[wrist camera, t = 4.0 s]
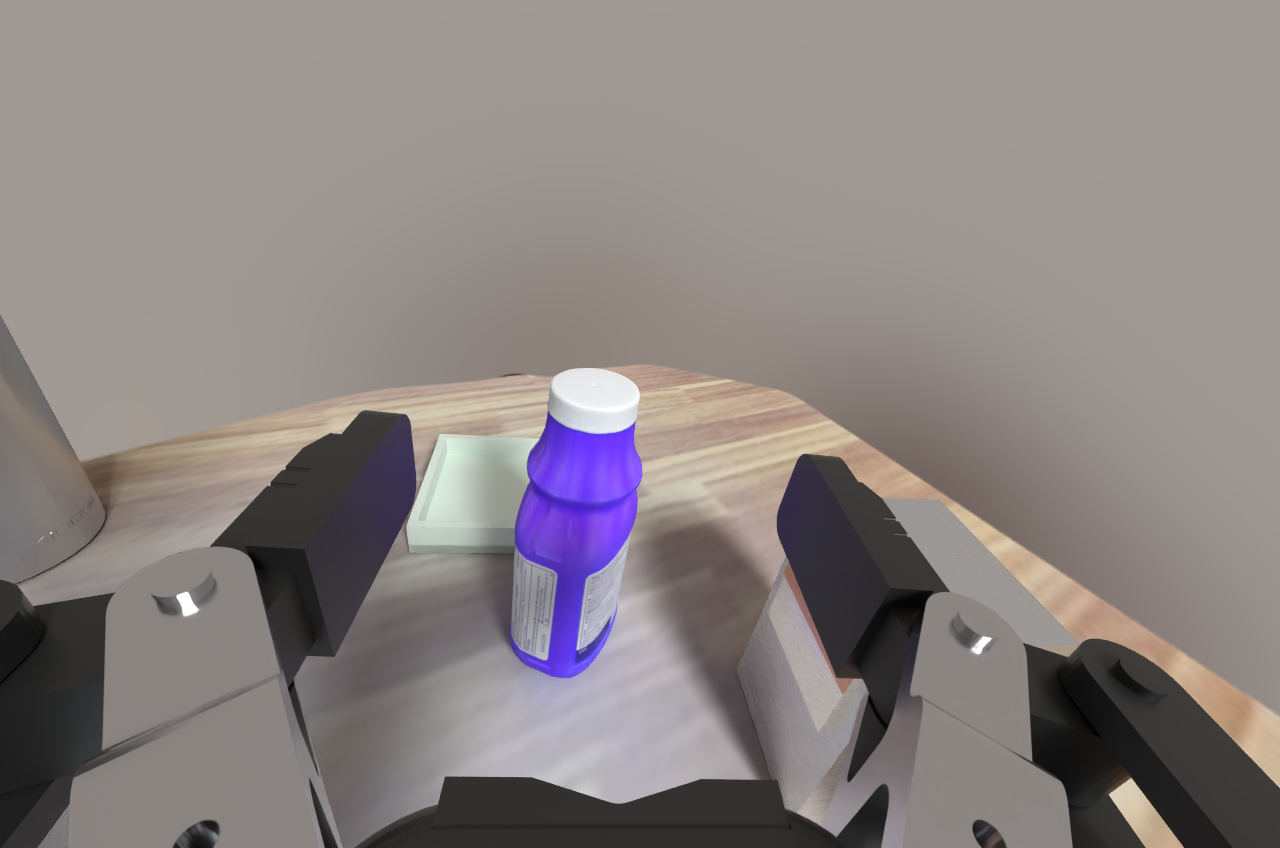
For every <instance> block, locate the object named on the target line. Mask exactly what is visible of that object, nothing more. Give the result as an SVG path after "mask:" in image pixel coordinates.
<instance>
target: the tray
mask: <svg viewBox="0 0 1280 848" xmlns="http://www.w3.org/2000/svg"><path fill="white" fill-rule="evenodd" d="M538 441H539V439H531V438H511V437H491V436H471V435H452V434H440V436H439V438H438V441H437V444H436V447H435V449H434V452H433V455H432V457H431V460H430V463H429V466H428V468H427V471H426V474H425V477H424V479H423V482H422V485H421V488H420V490H419V493H418V496H417V498H416V501H415V504H414V507H413V509H412V512H411V515H410V518H409V520H408V523H407V526H406V529H407V537H408V545H409V553H484V554H514V550H515V522H516V518H517V514H518V510H519V507H520V504H521V501H522V498H523V496H524V493H525V491H526V489H527V486H528V484H529V482H530V479H529V477H528V473H527V460H528V456H529V453H530V451H531V449H532V448H533V447H534V446H535V445H536V443H537V442H538Z"/></svg>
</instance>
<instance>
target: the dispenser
mask: <svg viewBox="0 0 1280 848" xmlns="http://www.w3.org/2000/svg"><path fill="white" fill-rule="evenodd" d="M882 499H883V500H884V502H885V503H886V504H887V506H888V507H889V509H890V510H891V511H892V513H893V514H894V515H895V517H896V521H899V522H900V524H901V525H902V526H903V528H904V529H905V531H906V532H907V537H911V539H912V540H913V541H914V543H915V544H916V546H917V547H918V548H919V550H920V551H921V552H922V554H923V555H924V557H925V558H926V559H927V561H928V562H929V563H930V565H931V566H932V567H933V569H934V570H935V572H936V573H937V574H938V576H939V577H940V578H941V580H942V581H943V583H944V584H945V585H946V587H947V588H948V589H949V591H950V592H951V593H956V594H961V595H964V596H967V597H969V598H971V599H974V600H976V601H978V602H980V603H982V604H983V605H985V606H987V607H988V608H990V609H991V610H993V611H994V612H995V613H997V614H998V615H999V616H1000V617H1002V618H1003V619H1004V620H1005V621H1006V622H1007V623H1008V624H1009V625H1010V626H1011V627H1012V628H1013V629H1014V631H1015V632H1016V633H1017V635H1018V636H1019V637H1020V639H1021V641H1022V642H1023V643H1026V644H1029V645H1032V646H1035V647H1038V648H1041V649H1044V650H1048V651H1051V652H1054V653H1057V654H1060V655H1063V656H1066V657H1069V656H1070V655H1071V654H1072V653H1073V652H1074V651H1075V650H1076V649H1077V648H1078V646H1079V645H1080V643H1079V642H1078V641H1077V640H1076V639H1075V638H1074V637H1073V636H1072V635H1071V634H1070V633H1069V632H1068V631H1067V630H1066V629H1065V628H1064V627H1063V626H1062V625H1061V624H1060V623H1059V622H1058V621H1057V620H1056V619H1055V618H1054V617H1053V616H1052V615H1051V614H1050V613H1049V612H1048V611H1047V609H1046V608H1045V607H1044V606H1043V605H1042V604H1041V603H1040V602H1039V601H1038V600H1037V599H1036V598H1035V597H1034V596H1033V595H1032V594H1031V593H1030V592H1029V591H1028V590H1027V589H1026V588H1025V587H1024V586H1023V585H1022V584H1021V583H1020V582H1019V581H1018V580H1017V579H1016V578H1015V577H1014V576H1013V575H1012V574H1011V573H1010V572H1009V571H1008V569H1007V568H1006V567H1005V566H1004V565H1003V564H1002V563H1001V562H1000V561H999V560H998V559H997V558H996V557H995V556H994V555H993V554H992V553H991V552H990V551H989V550H988V549H987V548H986V547H985V546H984V545H983V544H982V543H981V542H980V541H979V540H978V539H977V538H976V537H975V536H974V535H973V534H972V533H971V532H970V531H969V530H968V528H967V527H966V526H965V525H964V524H963V523H962V522H961V521H960V520H959V519H958V518H957V517H956V516H955V515H954V514H953V513H952V512H951V511H950V510H949V509H948V508H947V507H946V506H945V505H944V504H943V503H942V502H941V501H940V500H928V499H896V498H882ZM736 670H737V673H738V676H739V679H740V682H741V685H742V689H743V692H744V695H745V698H746V701H747V704H748V707H749V711H750V714H751V717H752V720H753V723H754V726H755V729H756V733H757V736H758V739H759V742H760V745H761V748H762V752H763V755H764V758H765V761H766V764H767V767H768V770H769V774H770V777H771V780H778V783H779V787H780V791H781V795H782V799H783V803H784V807H785V808H786V809H789V810H791V811H793V812H796V813H798V814H800V815H802V816H804V817H806V818H808V819H810V820H812V821H813V822H815V823H817V824H820V823H821V822H822V820H823V818H824V816H825V814H826V812H827V810H828V808H829V806H830V804H831V801H832V799H833V796H834V793H835V790H836V787H837V784H838V780H839V777H840V773H841V769H842V766H843V762H844V759H845V755H846V751H847V748H848V744H849V741H850V737H851V733H852V730H853V726H854V723H855V719H856V716H857V712H858V708H859V705H860V702H861V699H862V697H863V696H864V694H865V693H866V691H867V688H866V685H865V683H864V681H863V679H850V678H836V675H835V673H834V670H833V668H832V666H831V663H830V661H829V658H828V656H827V653H826V651H825V649H824V646H823V644H822V641H821V639H820V636H819V634H818V632H817V629H816V627H815V624H814V622H813V619H812V617H811V615H810V612H809V610H808V607H807V605H806V602H805V600H804V597H803V595H802V593H801V590H800V588H799V585H798V583H797V580H796V578H795V576H794V573H793V571H792V568H791V566H790V563H789V561H788V559H787V556H786V557H785V560H784V562H783V564H782V567H781V569H780V571H779V573H778V576H777V578H776V580H775V583H774V585H773V587H772V589H771V592H770V594H769V596H768V599H767V601H766V603H765V605H764V608H763V610H762V612H761V615H760V617H759V619H758V621H757V624H756V626H755V628H754V631H753V633H752V635H751V637H750V640H749V642H748V644H747V647H746V649H745V651H744V653H743V656H742V658H741V660H740V663H739V665H738V667H737V669H736Z"/></svg>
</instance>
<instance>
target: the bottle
mask: <svg viewBox="0 0 1280 848" xmlns="http://www.w3.org/2000/svg"><path fill="white" fill-rule="evenodd" d="M639 399H640V393H639V389H638V388H637V386H636V385H635V384H634V383H633V382H632V381H631V380H629V379H628V378H626V377H624V376H622V375H620V374H617V373H615V372H611V371H608V370H603V369H596V368H577V369H571V370H567V371H564V372H562V373H559V374H558V375H556V376H555V377H554V378H553V379H552V381H551V384H550V394H549V401H548V415H547V421H546V426H545V429H544V431H543V434H542V436H541V438H540V439H539V441H538V442H537V443H536V445H535V446H534V447H533V448H532V449H531V451H530V453H529V456H528V460H527V473H528V477H529V479H530V482H529V484H528V486H527V489H526V491H525V493H524V496H523V498H522V501H521V504H520V507H519V510H518V514H517V518H516V522H515V550H514V574H513V598H512V618H511V628H510V639H511V643H512V647H513V649H514V651H515V653H516V655H517V656H518V657H519V658H520V659H521V661H522V662H523V663H525V664H526V665H527V666H529V667H532V668H534V669H537V670H539V671H541V672H543V673H545V674H548V675H550V676H553V677H559V678H571V677H573V676H576V675H578V674H579V673H581V672H582V671H584V670H585V669H586V668H587V667H588V666H589V665H590V664H591V663H592V661H593V660H594V659H595V658H596V656H597V655H598V653H599V652H600V650H601V649H602V647H603V646H604V644H605V642H606V640H607V638H608V635H609V633H610V631H611V628H612V625H613V622H614V619H615V616H616V612H617V603H618V598H619V593H620V587H621V582H622V576H623V571H624V566H625V561H626V556H627V551H628V546H629V541H630V536H631V531H632V528H633V525H634V521H635V518H636V513H637V501H638V500H637V492H636V489H637V487H638V486H639V484H640V481H641V478H642V464H641V460H640V458H639V455H638V453H637V452H636V449H635V445H634V430H635V421H636V418H637V410H638V404H639Z"/></svg>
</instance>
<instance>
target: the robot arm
mask: <svg viewBox="0 0 1280 848" xmlns="http://www.w3.org/2000/svg"><path fill="white" fill-rule="evenodd" d="M415 492H416V470H415V461H414V452H413V442H412V433H411V424H410V420H409V418H408V416H407V415H406V414H398V413H387V412H377V411H367V410H365V411H362V412H360V413H359V414H358V416H357V417H356V418H355V419H354V420H353V421H352V422H351V424H350V425H349V426H348V427H347V428H346V429H345V431H344V432H343V433H342V434H333V433H330V434H328V435H326V436H324V437H322V438H320V439H319V440H317V441H315V442H313V443H311V444H309V445H308V446H306V447H304V448H303V449H302V450H301V451H300V452H299V453H298V454H297V455H296V456H295V457H294V458H293V459H292V460H291V461H290V462H289V463H288V465H287V466H286V469H285V470H282V471H281V472H280V473H279V474H278V475H277V476H276V477H275V478H274V479H273V480H272V481H271V485H270V486H267V487H266V488H265V489H264V490H263V491H262V492H261V493H260V494H259V495H258V496H257V497H256V498H255V499H254V500H253V501H252V503H251V504H250V505H249V506H248V507H247V508H246V509H245V510H244V511H243V512H242V513H241V514H240V515H239V516H238V517H237V518H236V519H235V520H234V522H233V523H232V524H231V525H230V526H229V527H228V528H227V529H226V530H225V531H224V532H223V533H222V534H221V535H220V536H219V537H218V538H217V539H216V540H215V542H214V543H213V544H212V545H211V546H210V547H204V548H198V549H192V550H188V551H184V552H181V553H178V554H175V555H172V556H169V557H166V558H164V559H162V560H160V561H157V562H155V563H153V564H151V565H150V566H148V567H146V568H144V569H143V570H141V571H139V572H138V573H136V574H135V575H134V576H132V577H131V578H130V579H128V580H127V581H126V582H125V583H124V584H123V585H122V586H121V587H120V588H119V589H118V590H117V591H116V592H115V593H110V594H104V595H98V596H92V597H86V598H80V599H74V600H68V601H62V602H56V603H50V604H44V605H38V606H32V605H31V603H30V602H29V601H28V599H27V598H26V597H25V595H24V594H23V593H22V591H21V590H20V589H19V588H18V587H17V586H16V585H15V584H16V583H18V582H21V581H23V580H26V579H28V578H31V577H33V576H35V575H37V574H39V573H41V572H43V571H45V570H47V569H49V568H51V567H53V566H55V565H57V564H59V563H60V562H62V561H63V560H65V559H67V558H68V557H70V556H71V555H73V554H75V553H76V552H77V551H78V550H80V549H81V548H82V547H83V546H85V545H86V544H87V543H88V542H90V540H91V539H92V538H93V537H94V536H95V535H96V534H97V533H98V532H99V530H100V528H101V527H102V525H103V523H104V521H105V513H106V512H105V510H104V507H103V505H102V503H101V501H100V499H99V498H98V496H97V494H96V492H95V490H94V488H93V486H92V484H91V483H90V481H89V479H88V477H87V475H86V473H85V471H84V469H83V468H82V466H81V464H80V461H79V459H78V458H77V456H76V454H75V452H74V450H73V448H72V447H71V445H70V443H69V441H68V439H67V437H66V435H65V433H64V432H63V430H62V428H61V426H60V424H59V423H58V421H57V419H56V417H55V415H54V413H53V412H52V410H51V408H50V406H49V404H48V402H47V400H46V399H45V396H44V395H43V393H42V391H41V389H40V387H39V385H38V384H37V382H36V380H35V378H34V376H33V374H32V373H31V371H30V369H29V367H28V365H27V363H26V361H25V360H24V358H23V356H22V354H21V353H20V350H19V348H18V347H17V345H16V343H15V341H14V339H13V337H12V335H11V334H10V332H9V330H8V328H7V326H6V324H5V323H4V321H3V319H2V317H1V315H0V848H37V847H38V846H39V845H40V843H41V842H42V840H43V839H44V838H45V836H46V835H47V834H48V832H49V831H50V830H51V828H52V827H53V826H54V824H55V823H56V821H57V820H58V819H59V817H60V816H61V815H62V813H63V812H64V811H65V809H66V808H67V807H68V805H69V804H70V807H69V821H68V836H67V848H343V846H342V843H341V839H340V836H339V832H338V829H337V826H336V823H335V819H334V816H333V813H332V810H331V807H330V804H329V801H328V797H327V794H326V791H325V787H324V784H323V780H322V776H321V773H320V769H319V765H318V762H317V758H316V754H315V751H314V747H313V743H312V740H311V736H310V732H309V729H308V725H307V721H306V718H305V714H304V710H303V707H302V703H301V699H300V696H299V692H298V688H297V685H296V682H295V679H294V677H295V676H296V674H297V672H298V670H299V668H300V667H301V665H302V663H303V661H304V660H305V658H306V656H329V657H335V655H336V653H337V651H338V649H339V647H340V645H341V643H342V641H343V639H344V637H345V635H346V633H347V631H348V629H349V628H350V626H351V624H352V622H353V620H354V618H355V616H356V614H357V612H358V610H359V608H360V606H361V604H362V602H363V600H364V599H365V597H366V595H367V593H368V591H369V589H370V587H371V585H372V583H373V581H374V579H375V577H376V575H377V573H378V571H379V570H380V568H381V566H382V564H383V562H384V560H385V558H386V556H387V554H388V552H389V550H390V548H391V546H392V544H393V542H394V541H395V539H396V537H397V535H398V533H399V531H400V529H401V527H402V525H403V523H404V521H405V519H406V517H407V515H408V513H409V511H410V509H411V507H412V504H413V501H414V497H415ZM777 532H778V536H779V539H780V541H781V544H782V546H783V549H784V551H785V554H786V556H787V559H788V561H789V563H790V566H791V568H792V571H793V573H794V576H795V578H796V580H797V583H798V585H799V588H800V590H801V593H802V595H803V597H804V600H805V602H806V605H807V607H808V610H809V612H810V615H811V617H812V619H813V622H814V624H815V627H816V629H817V632H818V634H819V636H820V639H821V641H822V644H823V646H824V649H825V651H826V653H827V656H828V658H829V661H830V663H831V666H832V668H833V670H834V673H835V675H836V678H850V679H863V681H864V683H865V685H866V688H867V691H866V693H865V694H864V696H863V697H862V699H861V702H860V705H859V708H858V712H857V716H856V719H855V723H854V726H853V730H852V733H851V737H850V741H849V744H848V748H847V751H846V755H845V759H844V762H843V766H842V769H841V773H840V777H839V780H838V784H837V787H836V790H835V793H834V796H833V799H832V801H831V804H830V806H829V808H828V810H827V812H826V814H825V816H824V818H823V820H822V822H821V824H820V825H818V824H817V823H815V822H813V821H812V820H810V819H808V818H806V817H804V816H802V815H800V814H798V813H796V812H793V811H791V810H789V809H786V808H785V807H784V803H783V799H782V795H781V791H780V787H779V783H778V780H726V779H700V780H697V781H694V782H691V783H688V784H684V785H681V786H678V787H675V788H672V789H669V790H665V791H662V792H659V793H656V794H653V795H650V796H647V797H643V798H640V799H637V800H634V801H631V802H627V803H623V804H615V803H610V802H607V801H604V800H601V799H598V798H594V797H591V796H588V795H585V794H582V793H579V792H576V791H573V790H570V789H566V788H563V787H560V786H557V785H554V784H551V783H548V782H545V781H542V780H538V779H535V778H532V777H445V779H444V783H443V787H442V791H441V795H440V799H439V803H438V805H435V806H431V807H428V808H425V809H422V810H419V811H417V812H415V813H412V814H410V815H408V816H405V817H403V818H401V819H399V820H397V821H395V822H393V823H392V824H390V825H388V826H386V827H385V828H383V829H381V830H379V831H378V832H376V833H374V834H373V835H372V836H370V837H369V838H367V839H366V840H364V841H363V842H362V843H360V844H359V845H357V846H356V847H355V848H1145V846H1144V845H1143V843H1142V842H1141V841H1140V839H1139V838H1138V836H1137V835H1136V833H1135V832H1134V831H1133V829H1132V828H1131V826H1130V825H1129V823H1128V822H1127V821H1126V819H1125V818H1124V816H1123V815H1122V813H1121V812H1120V811H1119V809H1118V808H1117V806H1116V805H1115V803H1114V802H1113V801H1112V799H1111V798H1110V796H1109V795H1108V794H1110V793H1111V792H1112V791H1114V790H1115V789H1117V788H1118V787H1119V786H1121V785H1122V784H1123V783H1125V782H1126V781H1127V780H1129V779H1130V778H1132V779H1133V780H1134V782H1135V783H1136V784H1137V786H1138V787H1139V788H1140V790H1141V791H1142V792H1143V794H1144V795H1145V796H1146V798H1147V799H1148V800H1149V802H1150V803H1151V804H1152V806H1153V807H1154V808H1155V810H1156V811H1157V812H1158V814H1159V815H1160V816H1161V817H1162V819H1163V820H1164V821H1165V823H1166V824H1167V825H1168V827H1169V828H1170V829H1171V831H1172V832H1173V833H1174V835H1175V836H1176V837H1177V839H1178V840H1179V841H1180V843H1181V844H1182V845H1183V847H1184V848H1280V788H1279V787H1278V786H1277V785H1276V784H1275V783H1274V782H1273V781H1272V780H1271V779H1270V778H1269V777H1268V776H1267V775H1266V774H1265V773H1264V772H1263V770H1262V769H1261V768H1260V767H1259V766H1258V765H1257V764H1256V763H1255V762H1254V761H1253V760H1252V759H1251V758H1250V757H1249V756H1248V755H1247V754H1246V753H1245V752H1244V751H1243V750H1242V749H1241V748H1240V747H1239V746H1238V745H1237V744H1236V743H1235V742H1234V740H1233V739H1232V738H1231V737H1230V736H1229V735H1228V734H1227V733H1226V732H1225V731H1224V730H1223V729H1222V728H1221V727H1220V726H1219V725H1218V724H1217V723H1216V722H1215V721H1214V720H1213V719H1212V718H1211V717H1210V716H1209V715H1208V714H1207V713H1206V712H1205V711H1204V709H1203V708H1202V707H1201V706H1200V705H1199V704H1198V703H1197V702H1196V701H1195V700H1194V699H1193V698H1192V697H1191V696H1190V695H1189V694H1188V693H1187V692H1186V691H1185V690H1184V689H1183V688H1182V687H1181V686H1180V685H1179V684H1178V683H1177V682H1176V681H1175V680H1174V679H1173V678H1172V677H1171V676H1169V675H1168V674H1167V673H1166V672H1165V671H1164V670H1162V669H1161V668H1160V667H1158V666H1157V665H1155V664H1154V663H1153V662H1151V661H1150V660H1148V659H1146V658H1145V657H1143V656H1142V655H1140V654H1138V653H1136V652H1135V651H1133V650H1131V649H1128V648H1126V647H1124V646H1122V645H1119V644H1117V643H1114V642H1111V641H1107V640H1102V639H1088V640H1086V641H1084V642H1082V643H1081V644H1080V645H1079V646H1078V648H1077V649H1076V650H1075V651H1074V652H1073V653H1072V654H1071V655H1070V656H1069V657H1066V656H1063V655H1060V654H1057V653H1054V652H1051V651H1048V650H1044V649H1041V648H1038V647H1035V646H1032V645H1029V644H1026V643H1023V642H1022V641H1021V639H1020V637H1019V636H1018V635H1017V633H1016V632H1015V631H1014V629H1013V628H1012V627H1011V626H1010V625H1009V624H1008V623H1007V622H1006V621H1005V620H1004V619H1003V618H1002V617H1000V616H999V615H998V614H997V613H995V612H994V611H993V610H991V609H990V608H988V607H987V606H985V605H983V604H982V603H980V602H978V601H976V600H974V599H971V598H969V597H967V596H964V595H961V594H956V593H951V592H950V591H949V589H948V588H947V587H946V585H945V584H944V583H943V581H942V580H941V578H940V577H939V576H938V574H937V573H936V572H935V570H934V569H933V567H932V566H931V565H930V563H929V562H928V561H927V559H926V558H925V557H924V555H923V554H922V552H921V551H920V550H919V548H918V547H917V546H916V544H915V543H914V541H913V540H912V539H911V537H907V532H906V531H905V529H904V528H903V526H902V525H901V524H900V522H899V521H896V517H895V515H894V514H893V513H892V511H891V510H890V509H889V507H888V506H887V504H886V503H885V502H884V500H883V499H882V498H881V497H879V496H878V495H877V494H876V493H874V492H873V491H872V490H871V489H869V488H868V487H867V486H866V485H864V484H863V483H862V482H858V481H857V479H856V478H855V477H854V475H853V474H852V472H851V471H850V469H849V468H848V467H847V465H846V464H845V462H844V461H843V460H842V459H841V458H839V457H833V456H823V455H812V454H803V455H801V456H800V457H799V459H798V460H797V463H796V465H795V468H794V470H793V473H792V475H791V478H790V481H789V483H788V486H787V488H786V491H785V494H784V496H783V499H782V502H781V504H780V507H779V510H778V514H777Z"/></svg>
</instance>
